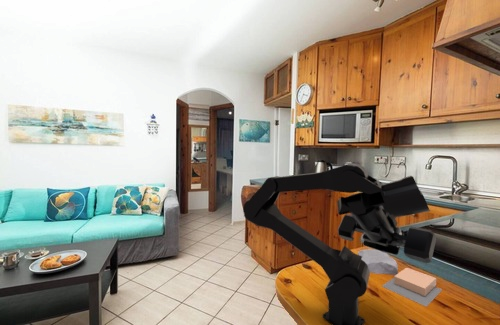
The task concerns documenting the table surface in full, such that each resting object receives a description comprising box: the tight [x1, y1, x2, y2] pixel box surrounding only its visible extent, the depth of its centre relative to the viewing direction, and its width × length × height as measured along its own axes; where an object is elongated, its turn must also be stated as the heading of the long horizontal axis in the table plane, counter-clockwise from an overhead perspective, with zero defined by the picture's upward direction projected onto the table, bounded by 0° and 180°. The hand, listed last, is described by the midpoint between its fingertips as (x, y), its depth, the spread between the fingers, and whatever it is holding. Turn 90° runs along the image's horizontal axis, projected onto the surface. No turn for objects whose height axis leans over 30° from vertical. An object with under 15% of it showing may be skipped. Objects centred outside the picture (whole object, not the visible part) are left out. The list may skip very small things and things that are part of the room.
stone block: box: [357, 248, 399, 276], centre depth 72 cm, size 12×5×10 cm
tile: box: [393, 267, 437, 296], centre depth 61 cm, size 2×7×8 cm
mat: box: [381, 277, 443, 307], centre depth 60 cm, size 11×10×1 cm
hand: (392, 253), depth 54 cm, fingers closed
